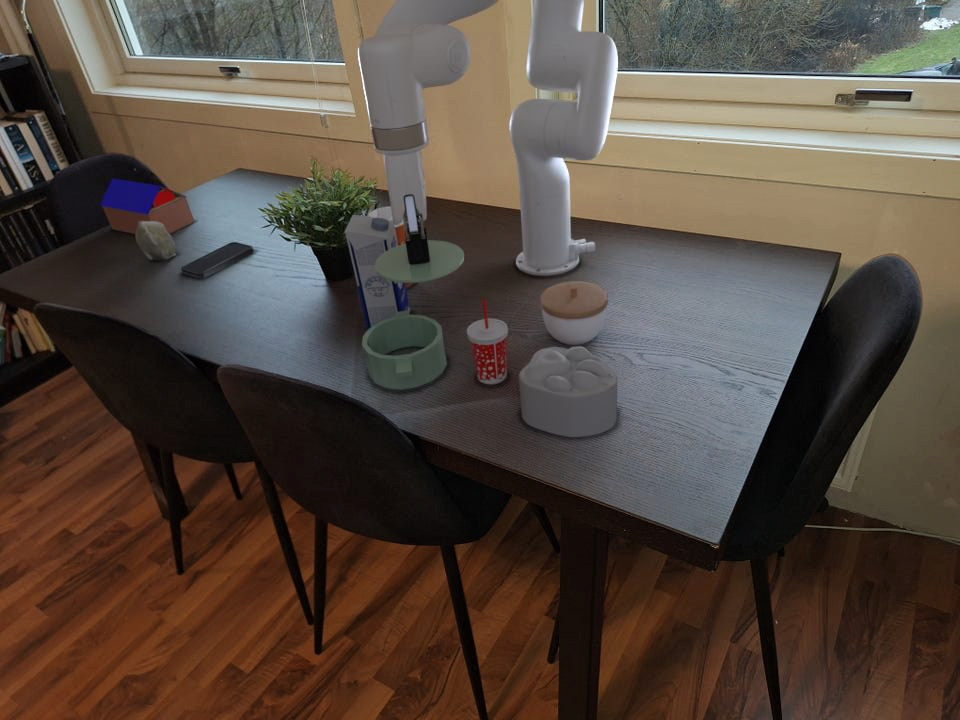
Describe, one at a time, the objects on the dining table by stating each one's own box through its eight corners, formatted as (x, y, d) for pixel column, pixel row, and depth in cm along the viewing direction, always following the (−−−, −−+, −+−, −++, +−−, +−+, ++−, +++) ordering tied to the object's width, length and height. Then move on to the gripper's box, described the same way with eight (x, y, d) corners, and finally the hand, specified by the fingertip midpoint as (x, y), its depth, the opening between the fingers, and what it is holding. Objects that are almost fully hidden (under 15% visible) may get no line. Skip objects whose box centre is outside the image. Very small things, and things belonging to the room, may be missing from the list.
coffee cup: (413, 294, 127) (400, 222, 119) (373, 293, 129) (358, 222, 121) (425, 274, 134) (413, 204, 125) (387, 273, 136) (373, 204, 127)
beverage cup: (503, 362, 105) (496, 285, 98) (517, 383, 101) (511, 304, 93) (467, 372, 104) (457, 295, 96) (479, 394, 99) (470, 314, 91)
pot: (443, 333, 114) (438, 302, 111) (451, 395, 100) (445, 361, 96) (371, 343, 114) (364, 312, 110) (368, 407, 99) (360, 374, 96)
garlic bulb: (167, 272, 153) (147, 242, 144) (136, 265, 154) (115, 234, 146) (189, 245, 158) (172, 213, 149) (160, 237, 159) (141, 206, 151)
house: (157, 239, 164) (139, 194, 157) (110, 229, 173) (91, 186, 167) (196, 221, 172) (180, 177, 165) (149, 212, 181) (132, 170, 175)
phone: (254, 246, 151) (200, 274, 141) (255, 251, 152) (201, 279, 142) (232, 241, 155) (178, 268, 145) (234, 245, 156) (180, 272, 146)
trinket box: (591, 361, 103) (591, 310, 98) (531, 346, 109) (528, 296, 103) (617, 328, 111) (618, 278, 105) (560, 315, 116) (558, 267, 110)
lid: (460, 241, 107) (456, 205, 103) (469, 279, 95) (464, 240, 92) (376, 252, 106) (369, 217, 103) (375, 292, 95) (367, 253, 91)
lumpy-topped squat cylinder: (544, 381, 100) (542, 333, 95) (627, 401, 94) (629, 351, 90) (514, 422, 93) (510, 373, 88) (601, 447, 87) (602, 395, 82)
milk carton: (375, 314, 122) (352, 213, 111) (410, 312, 122) (392, 209, 110) (368, 335, 116) (344, 230, 105) (405, 332, 116) (385, 227, 105)
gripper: (373, 124, 96) (394, 240, 106) (371, 156, 83) (395, 285, 93) (424, 118, 97) (440, 234, 107) (430, 148, 83) (447, 278, 93)
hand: (419, 257), depth 100 cm, fingers closed on lid, 2 cm apart
